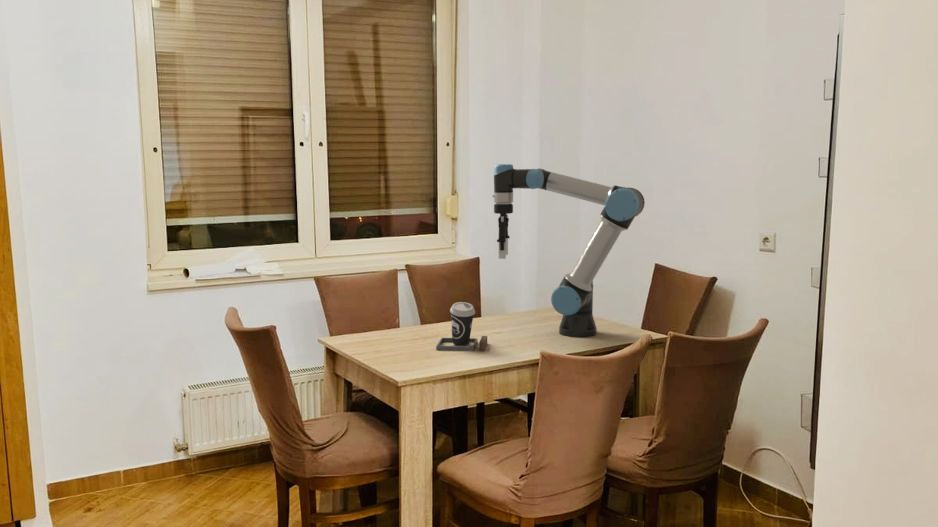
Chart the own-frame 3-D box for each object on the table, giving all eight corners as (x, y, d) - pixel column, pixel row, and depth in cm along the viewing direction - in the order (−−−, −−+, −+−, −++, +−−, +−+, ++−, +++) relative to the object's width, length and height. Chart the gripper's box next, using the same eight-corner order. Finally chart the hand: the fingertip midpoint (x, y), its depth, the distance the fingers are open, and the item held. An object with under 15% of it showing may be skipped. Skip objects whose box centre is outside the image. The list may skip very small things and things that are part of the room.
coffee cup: (471, 348, 294) (474, 312, 288) (446, 346, 294) (448, 310, 289) (474, 337, 303) (476, 302, 297) (449, 335, 303) (451, 300, 298)
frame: (477, 342, 302) (477, 338, 301) (473, 350, 288) (473, 346, 288) (441, 341, 303) (441, 337, 303) (436, 349, 289) (436, 345, 289)
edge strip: (487, 343, 299) (487, 335, 299) (484, 350, 287) (484, 343, 287) (482, 343, 299) (482, 335, 299) (479, 350, 288) (479, 342, 287)
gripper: (496, 201, 321) (496, 252, 324) (491, 205, 297) (491, 260, 299) (514, 201, 321) (514, 253, 323) (511, 205, 296) (510, 260, 299)
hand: (503, 256), depth 311 cm, fingers open, 13 cm apart
